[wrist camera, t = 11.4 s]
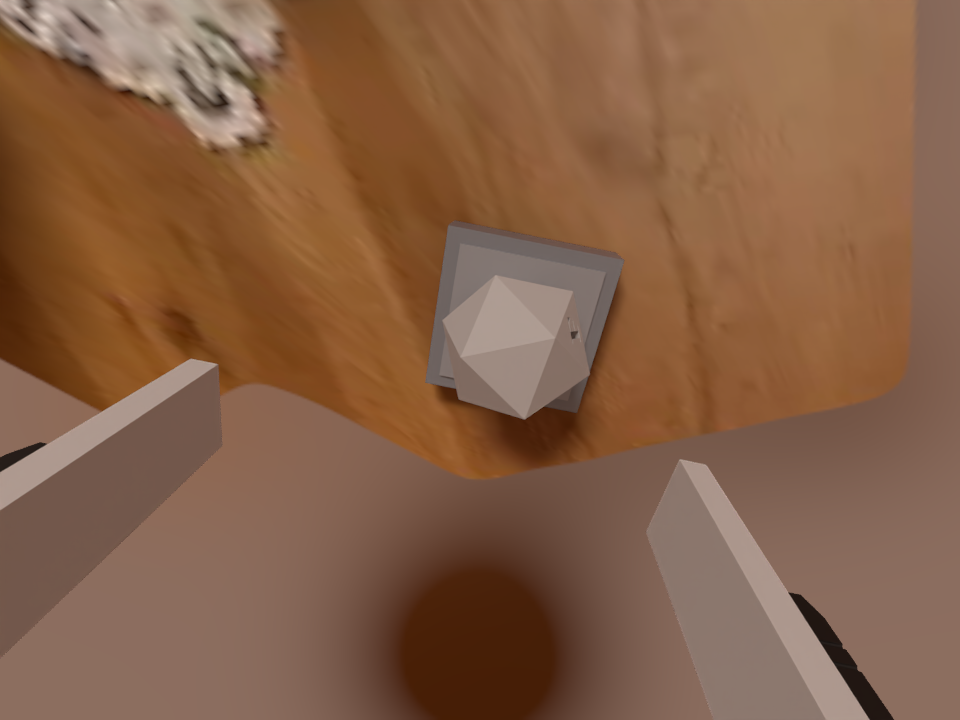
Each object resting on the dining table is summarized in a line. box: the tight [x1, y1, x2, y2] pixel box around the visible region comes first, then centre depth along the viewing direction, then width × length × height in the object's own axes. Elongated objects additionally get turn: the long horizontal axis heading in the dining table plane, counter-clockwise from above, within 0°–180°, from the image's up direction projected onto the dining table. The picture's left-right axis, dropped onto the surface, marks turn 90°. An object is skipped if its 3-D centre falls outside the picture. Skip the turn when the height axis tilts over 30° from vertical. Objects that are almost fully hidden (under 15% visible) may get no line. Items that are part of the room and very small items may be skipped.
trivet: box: [425, 221, 624, 413], centre depth 34 cm, size 12×12×3 cm
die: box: [442, 275, 590, 420], centre depth 28 cm, size 8×9×10 cm
